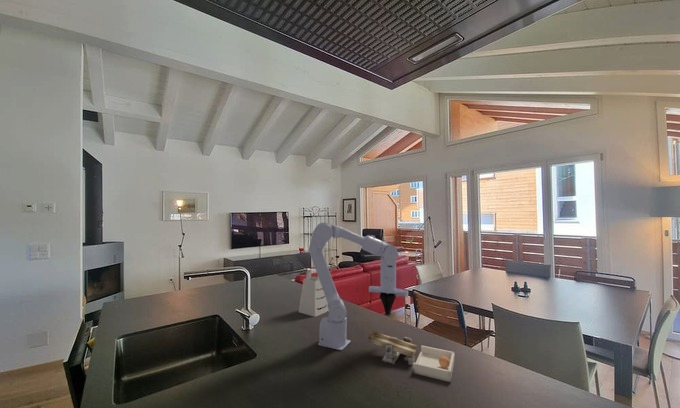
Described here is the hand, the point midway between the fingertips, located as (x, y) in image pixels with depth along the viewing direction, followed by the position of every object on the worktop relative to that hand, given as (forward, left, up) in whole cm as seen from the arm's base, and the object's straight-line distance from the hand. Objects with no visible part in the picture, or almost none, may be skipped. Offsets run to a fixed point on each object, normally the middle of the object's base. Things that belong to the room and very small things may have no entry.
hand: (388, 314), depth 106 cm
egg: (+21, -10, -8) cm, 24 cm away
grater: (-42, +17, -11) cm, 47 cm away
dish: (+18, -10, -10) cm, 23 cm away
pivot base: (+7, -10, -10) cm, 16 cm away
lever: (+4, -7, -7) cm, 11 cm away
